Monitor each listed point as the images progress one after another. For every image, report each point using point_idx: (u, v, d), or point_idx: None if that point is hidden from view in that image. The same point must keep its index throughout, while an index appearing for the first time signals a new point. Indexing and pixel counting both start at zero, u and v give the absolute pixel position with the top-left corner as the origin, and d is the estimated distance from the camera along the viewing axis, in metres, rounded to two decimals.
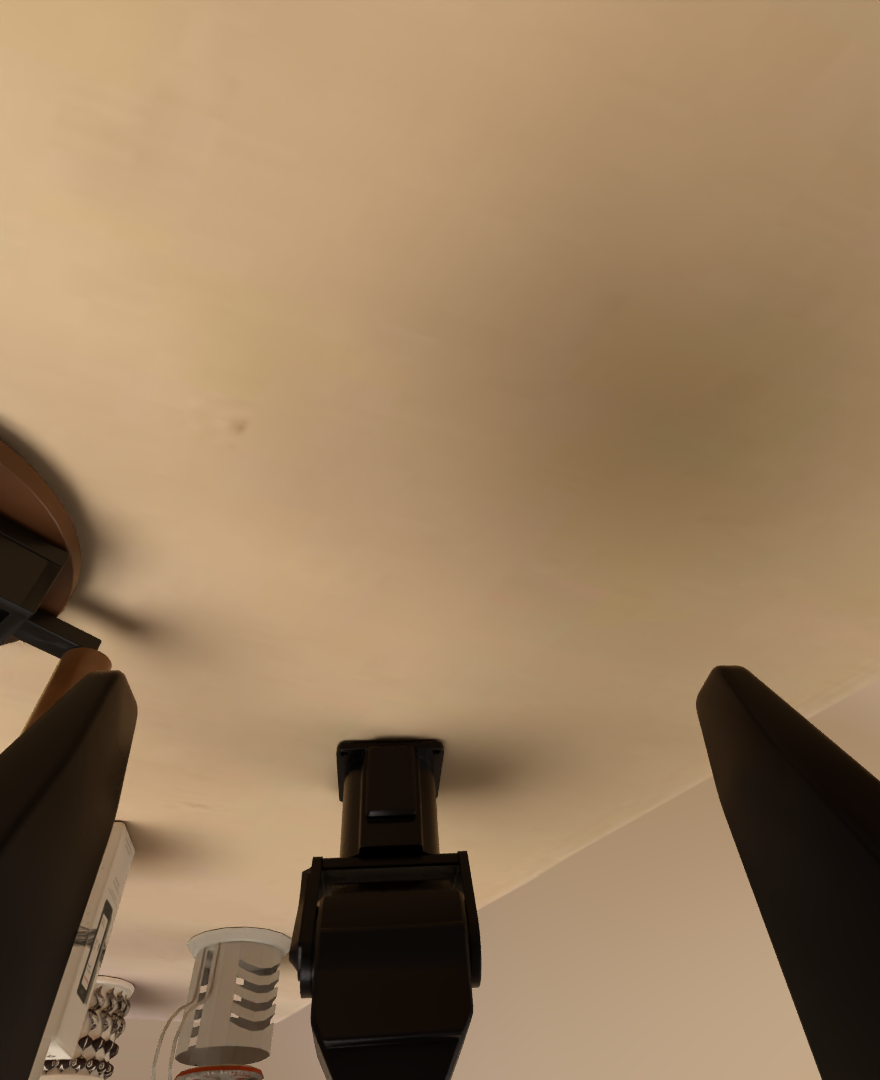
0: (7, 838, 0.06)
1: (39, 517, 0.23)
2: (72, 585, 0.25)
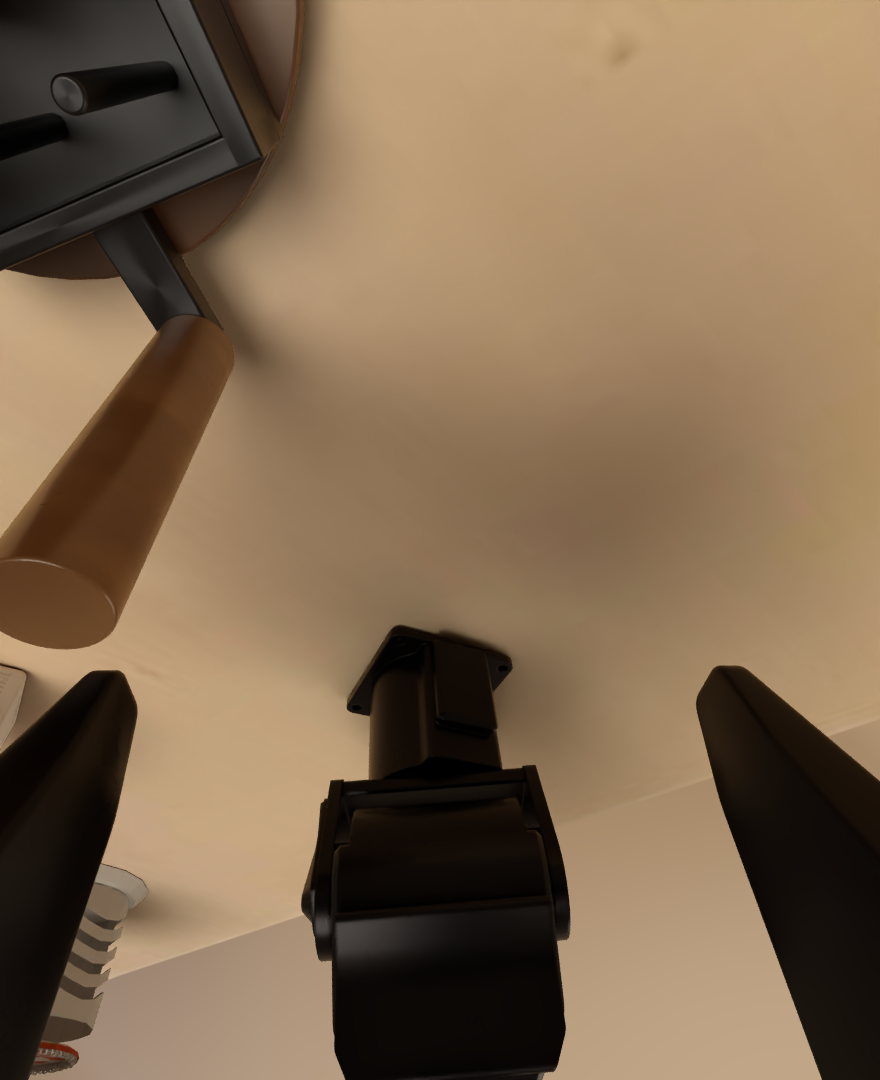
0: (7, 838, 0.06)
1: (275, 37, 0.13)
2: (238, 207, 0.15)
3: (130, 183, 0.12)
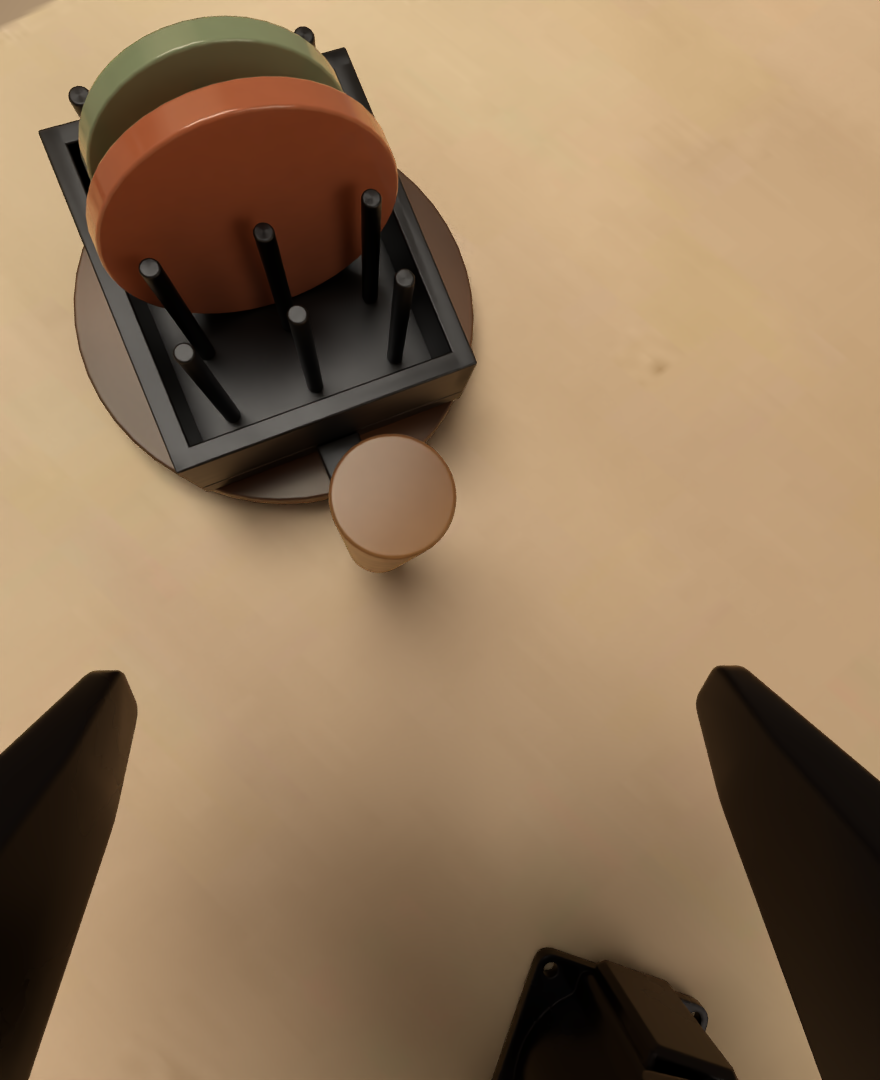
0: (7, 838, 0.06)
1: None
2: None
3: (386, 378, 0.17)
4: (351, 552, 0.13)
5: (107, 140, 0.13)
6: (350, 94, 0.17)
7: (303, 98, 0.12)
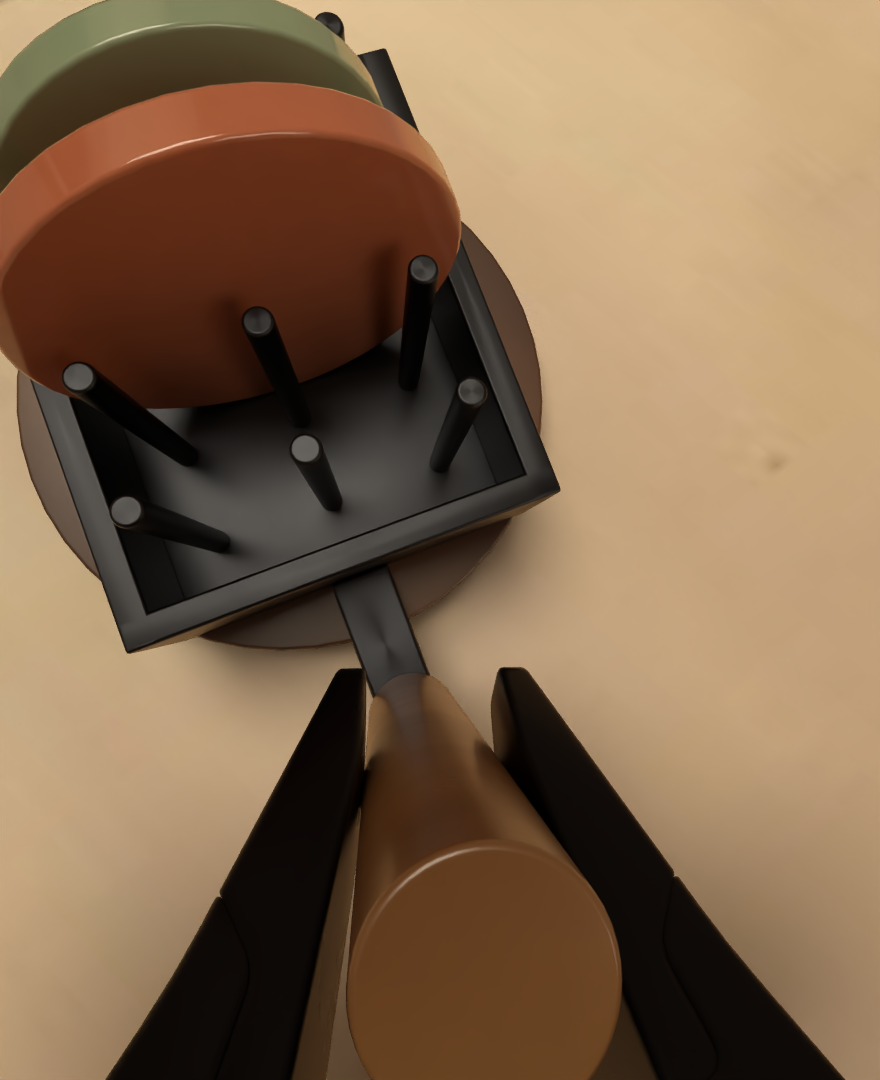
0: (344, 826, 0.06)
1: None
2: (468, 574, 0.15)
3: (432, 513, 0.12)
4: None
5: None
6: None
7: (322, 119, 0.07)
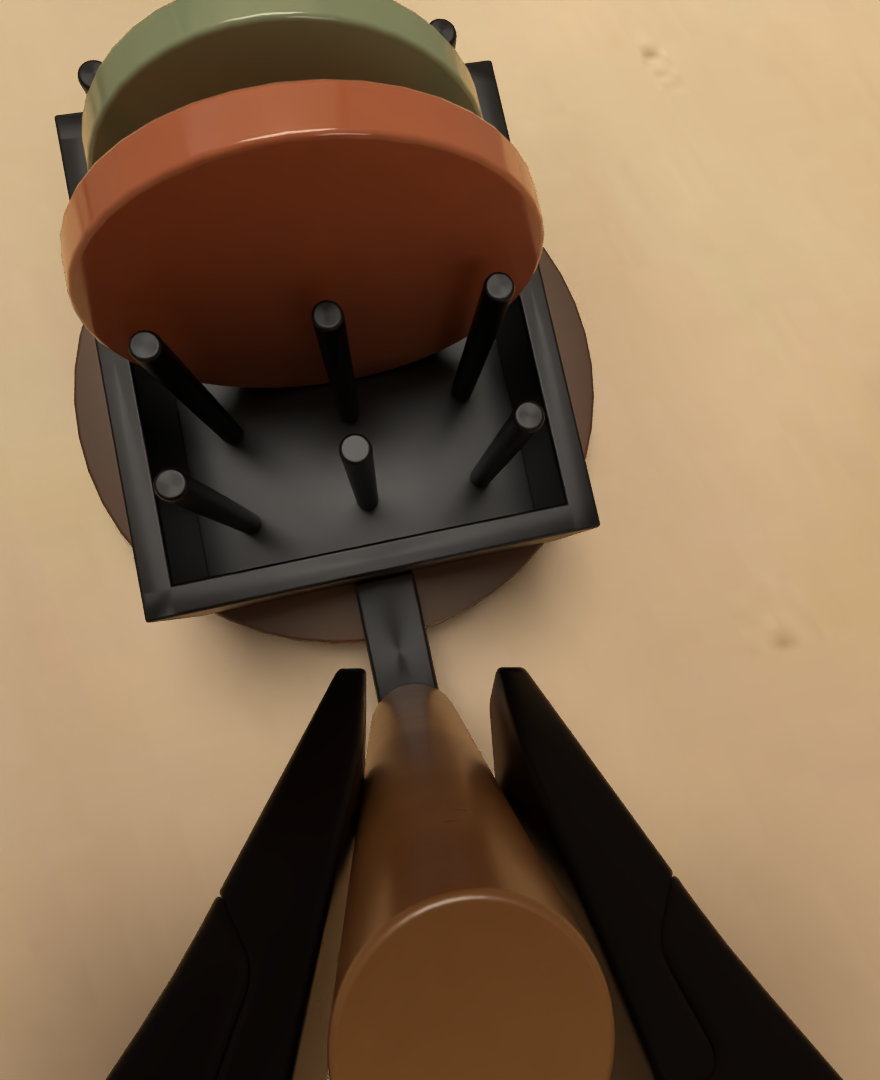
0: (344, 826, 0.06)
1: None
2: (435, 623, 0.15)
3: (467, 529, 0.12)
4: None
5: None
6: None
7: (426, 127, 0.07)
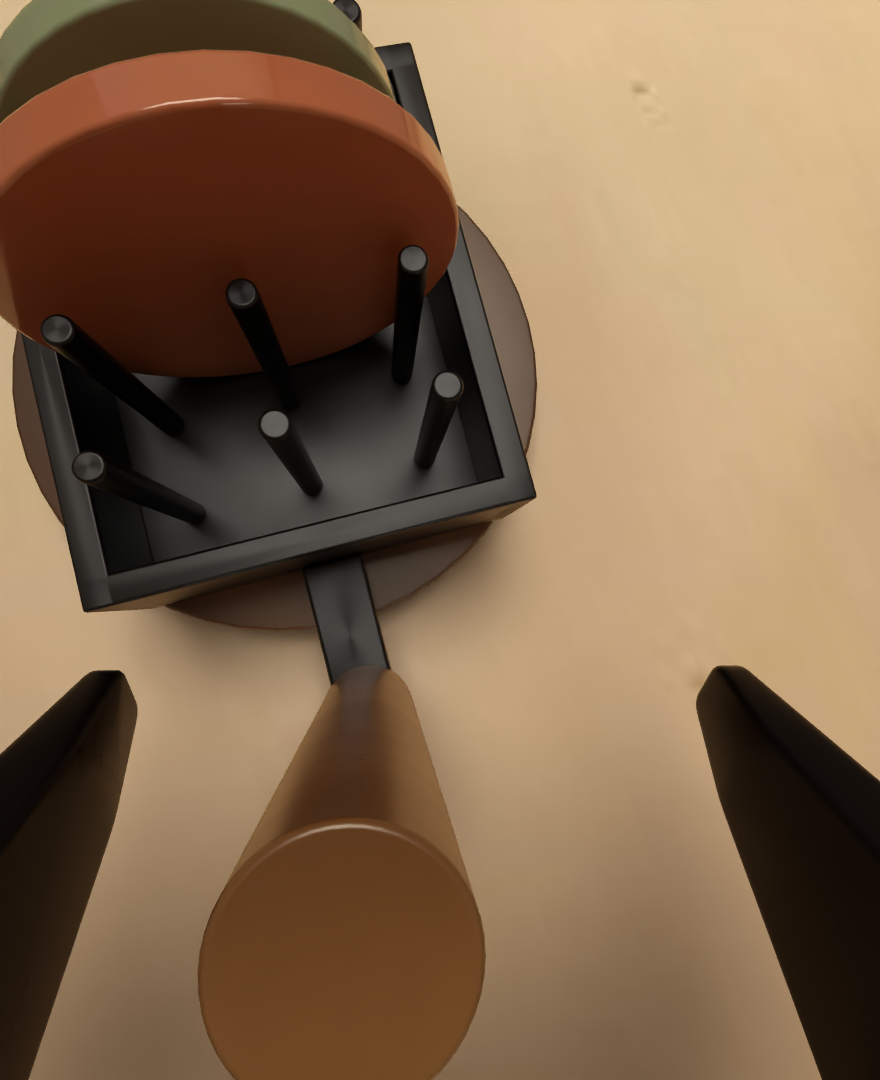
0: (7, 838, 0.06)
1: (459, 532, 0.15)
2: None
3: (405, 506, 0.12)
4: None
5: None
6: (409, 106, 0.12)
7: (314, 96, 0.07)
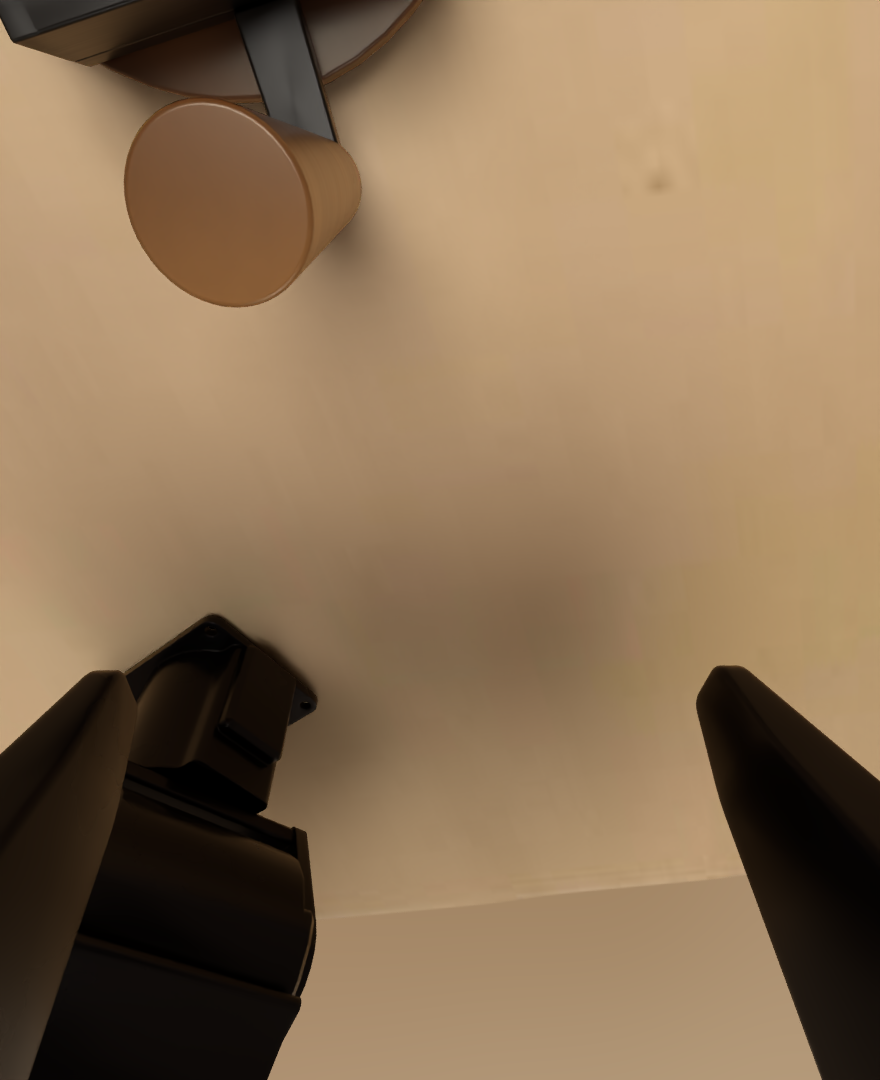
0: (7, 838, 0.06)
1: None
2: None
3: None
4: None
5: None
6: None
7: None
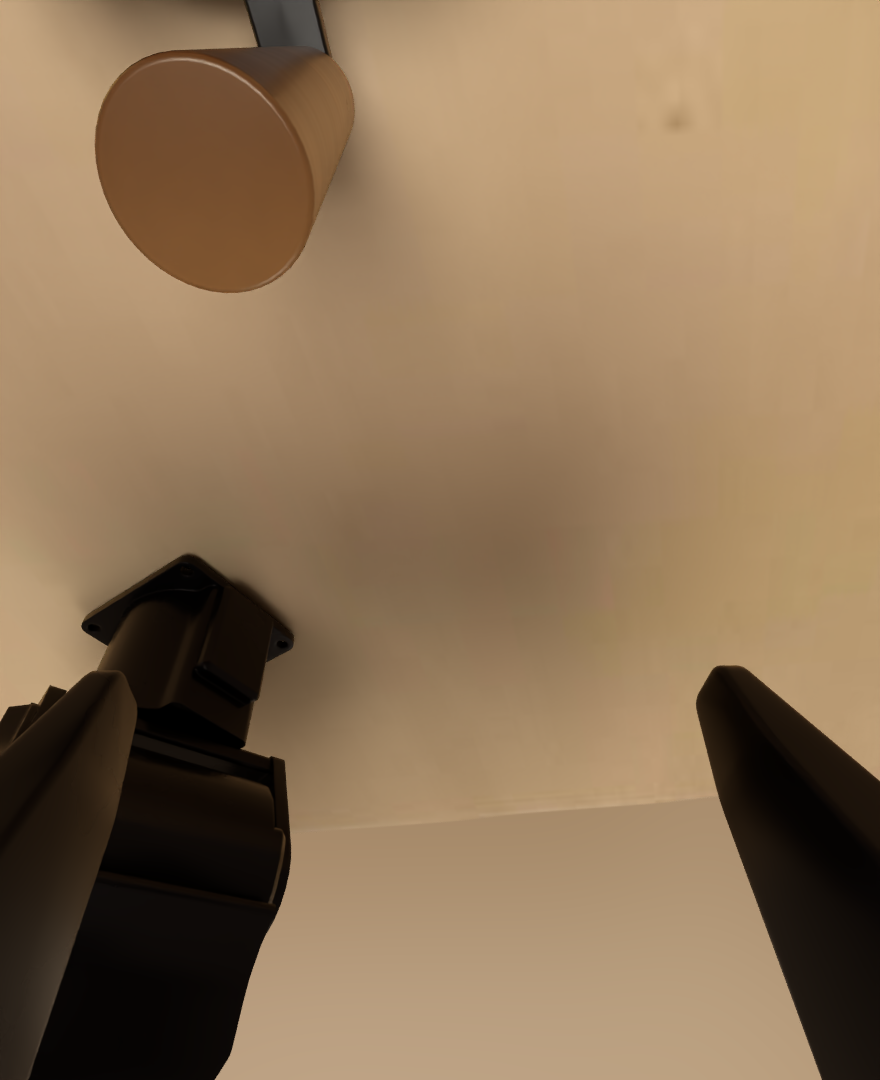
0: (7, 838, 0.06)
1: None
2: None
3: None
4: None
5: None
6: None
7: None
